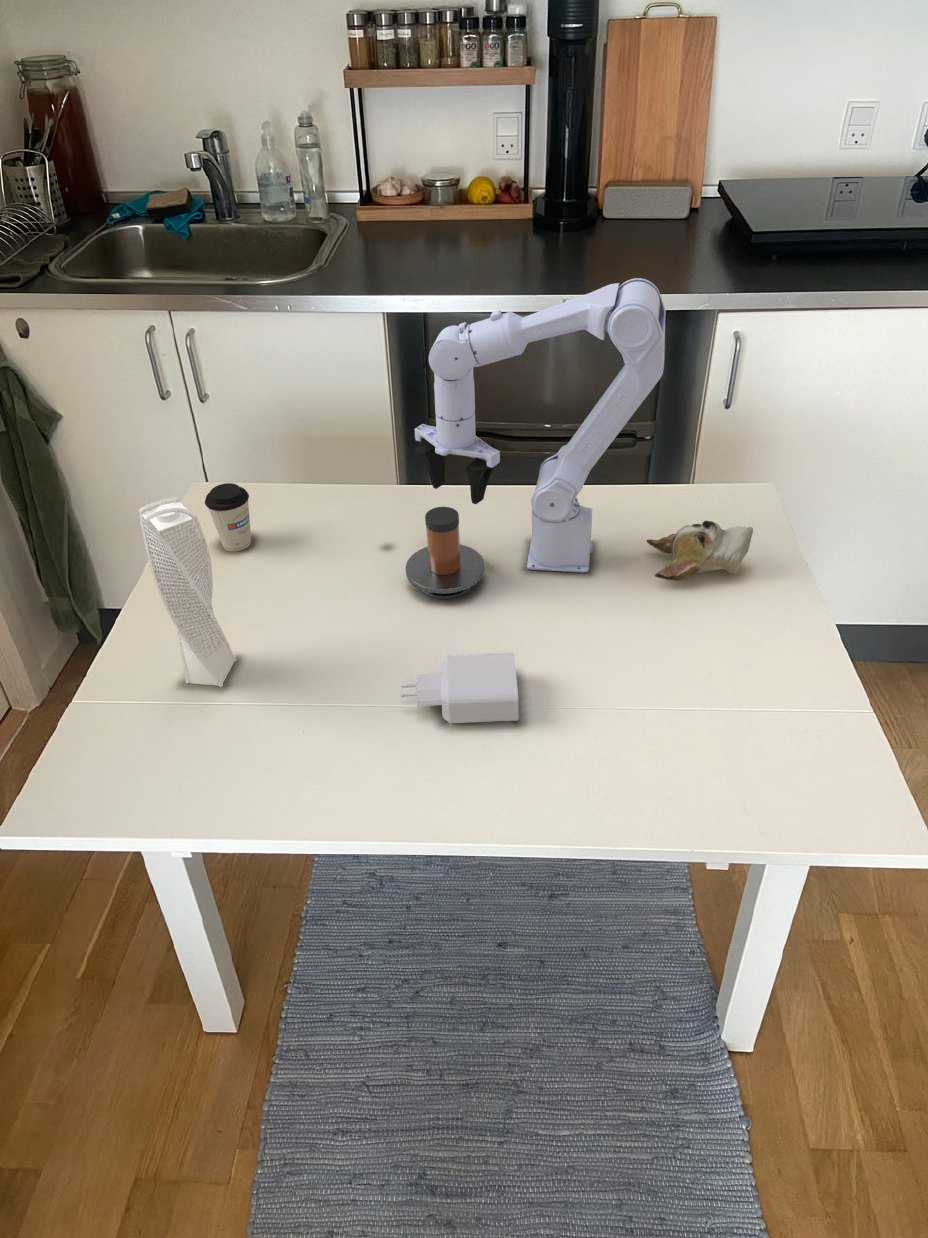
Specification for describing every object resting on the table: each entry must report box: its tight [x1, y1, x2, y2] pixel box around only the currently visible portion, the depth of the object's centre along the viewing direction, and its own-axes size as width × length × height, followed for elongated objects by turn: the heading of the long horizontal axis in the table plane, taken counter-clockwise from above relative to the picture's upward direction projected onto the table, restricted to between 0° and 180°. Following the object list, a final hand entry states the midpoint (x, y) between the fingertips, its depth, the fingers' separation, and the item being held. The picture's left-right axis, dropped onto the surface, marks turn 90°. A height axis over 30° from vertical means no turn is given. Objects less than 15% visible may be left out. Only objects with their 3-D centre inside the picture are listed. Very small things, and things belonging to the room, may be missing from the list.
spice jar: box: [424, 506, 461, 575], centre depth 139 cm, size 5×5×9 cm
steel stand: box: [405, 544, 486, 600], centre depth 142 cm, size 12×12×3 cm
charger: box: [400, 652, 520, 724], centre depth 121 cm, size 5×9×15 cm
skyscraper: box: [137, 496, 237, 688], centre depth 120 cm, size 8×8×28 cm
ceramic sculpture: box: [646, 520, 754, 582], centre depth 141 cm, size 11×9×15 cm
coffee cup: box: [204, 482, 252, 552], centre depth 151 cm, size 7×7×10 cm
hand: (458, 493), depth 143 cm, fingers open, 7 cm apart
